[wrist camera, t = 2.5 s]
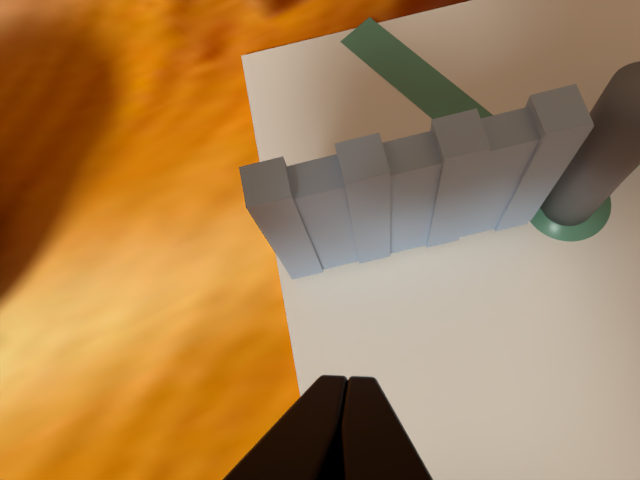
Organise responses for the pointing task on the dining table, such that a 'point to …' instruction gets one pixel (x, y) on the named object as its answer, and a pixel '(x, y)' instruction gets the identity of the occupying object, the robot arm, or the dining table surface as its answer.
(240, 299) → the dining table surface
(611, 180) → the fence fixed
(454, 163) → the fence panel
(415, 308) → the card
